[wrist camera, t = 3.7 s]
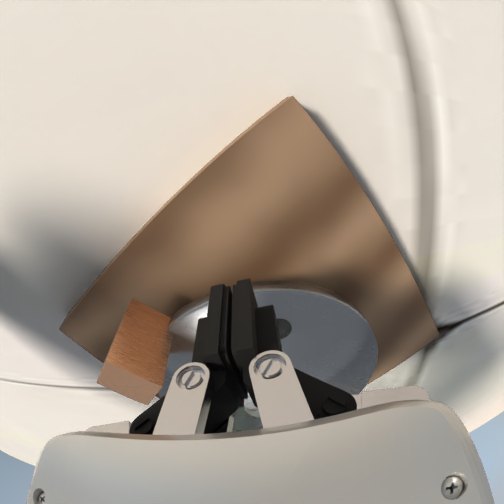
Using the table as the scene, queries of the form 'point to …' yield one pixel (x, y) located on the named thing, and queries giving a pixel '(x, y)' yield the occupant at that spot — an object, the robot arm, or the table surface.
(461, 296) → the table surface
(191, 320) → the flange plate
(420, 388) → the robot arm
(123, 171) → the table surface
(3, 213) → the table surface
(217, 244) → the pivot base
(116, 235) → the table surface
